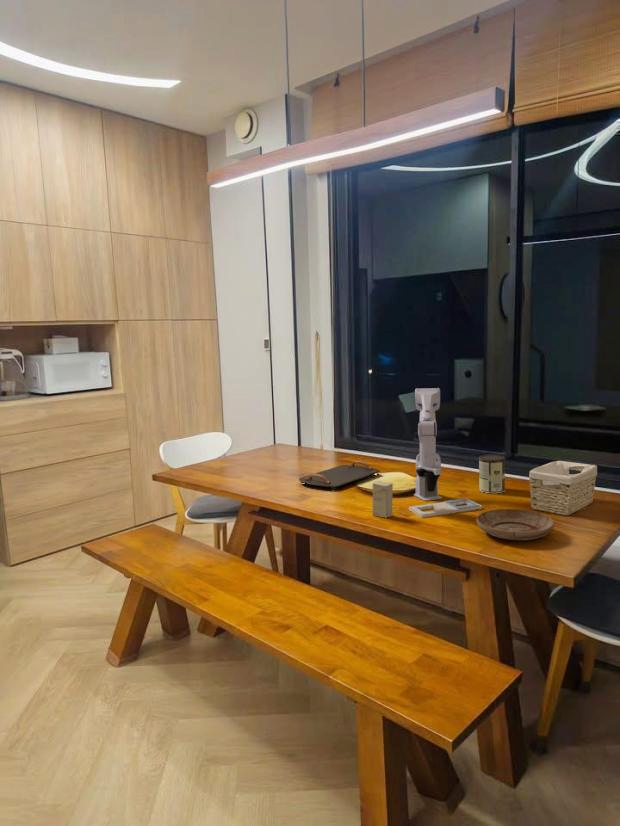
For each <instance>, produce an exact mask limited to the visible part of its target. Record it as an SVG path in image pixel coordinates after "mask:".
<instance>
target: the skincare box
mask: <svg viewBox="0 0 620 826" xmlns="http://www.w3.org/2000/svg"><path fill="white" fill-rule="evenodd" d="M393 486H394V485H393V483H390V482H386V481H382V480H381V481H380V480H379V481H376V482H373V483H372V516H375V517H378V516H379V518H382V517H385V518H384V519H388V518H390V517H392V516H393V492H394V491H393ZM387 517H388V518H387Z"/></svg>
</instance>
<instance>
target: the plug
mask: <svg viewBox="0 0 620 826" xmlns="http://www.w3.org/2000/svg"><path fill="white" fill-rule="evenodd" d="M419 490H420V496H422V497H424V498H428V497H435V496H437V482H436V486H435V490H434V491H432V492H429V491H428V487H427V480H426V477H425V476H421V477H419Z"/></svg>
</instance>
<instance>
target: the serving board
mask: <svg viewBox="0 0 620 826" xmlns="http://www.w3.org/2000/svg"><path fill="white" fill-rule="evenodd" d="M355 464H358V465H355ZM359 464H361V465H359ZM380 472H381V471H380V470H379V469H377V468H374V467H371V466H370V465H369V463H367V461H364V460H363V461H362V460H354V461H352V462H351V463H349V464H340V465H337V466H335V467H331V468H328V469H325V470H322V471H318V472H316V473H312V474H309V475H305V476H303V477H300V478H298V481H299V482H300V484H301V483H306V484H307V485H308V484H309V485H311V486H315V487H316V486H317V487H326V488H330V489H332V490H335V489H336V490H337V487H340V486H341V487H342V486H344V485H346V484H349V483H352V482H355V481H358V479H359V480H361V479H364V478H366V477H365V476H367V477H369V476H368V475H370V474H372V475H373V474H375V473H378V474H379V473H380ZM370 476H371V475H370ZM363 477H364V478H363ZM360 478H361V479H360ZM332 490H331V491H332ZM336 490H335V491H336Z"/></svg>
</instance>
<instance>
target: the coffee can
mask: <svg viewBox="0 0 620 826" xmlns="http://www.w3.org/2000/svg"><path fill="white" fill-rule="evenodd" d="M505 462H506V457H505V456H503V455H498V454H483V455H480V456H478V473H479V474H478V475H479V476H478V479H479V480H478V482H479V483H478V485H479V486H478V488H479V489H478V490H480V491H481V493H483V492H485V493H484V494H487V493H492V494H491V495H498V494H497V493H500V494H503V492H504V493H506V490H505V489H506V487H505V486H506V485H505V484H506V481H505V479H506V478H505V477H506V474H505V473H506V472H505V471H506V463H505ZM480 491H479V492H480Z"/></svg>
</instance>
